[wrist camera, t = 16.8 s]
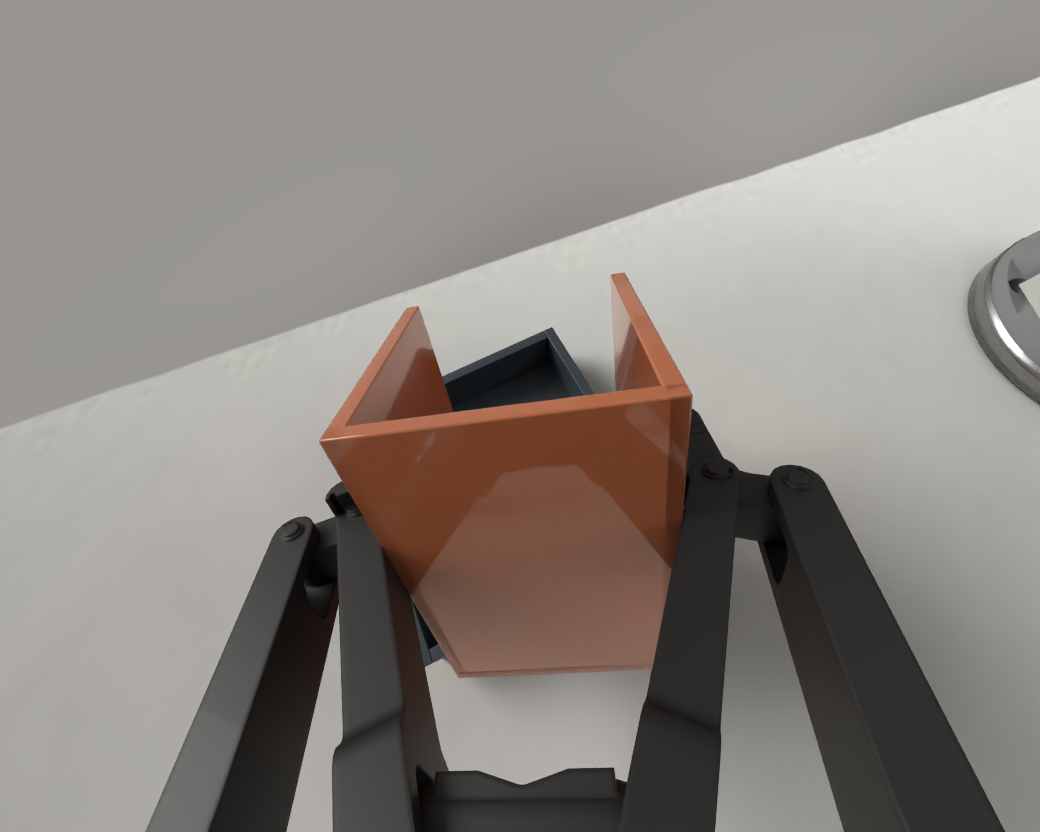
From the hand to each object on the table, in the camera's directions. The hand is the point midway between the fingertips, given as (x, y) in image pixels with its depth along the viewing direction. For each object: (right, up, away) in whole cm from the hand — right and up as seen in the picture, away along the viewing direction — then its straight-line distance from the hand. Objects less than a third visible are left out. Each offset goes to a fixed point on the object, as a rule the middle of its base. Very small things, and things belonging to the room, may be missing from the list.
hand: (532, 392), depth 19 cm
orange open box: (+1, -7, +2) cm, 8 cm away
